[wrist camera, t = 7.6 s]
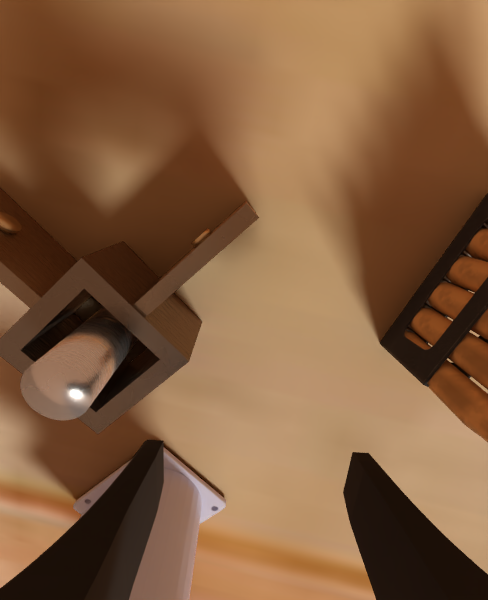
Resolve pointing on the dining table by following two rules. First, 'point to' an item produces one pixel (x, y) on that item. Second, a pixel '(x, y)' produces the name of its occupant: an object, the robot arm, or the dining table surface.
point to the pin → (77, 367)
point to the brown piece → (103, 302)
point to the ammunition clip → (451, 326)
